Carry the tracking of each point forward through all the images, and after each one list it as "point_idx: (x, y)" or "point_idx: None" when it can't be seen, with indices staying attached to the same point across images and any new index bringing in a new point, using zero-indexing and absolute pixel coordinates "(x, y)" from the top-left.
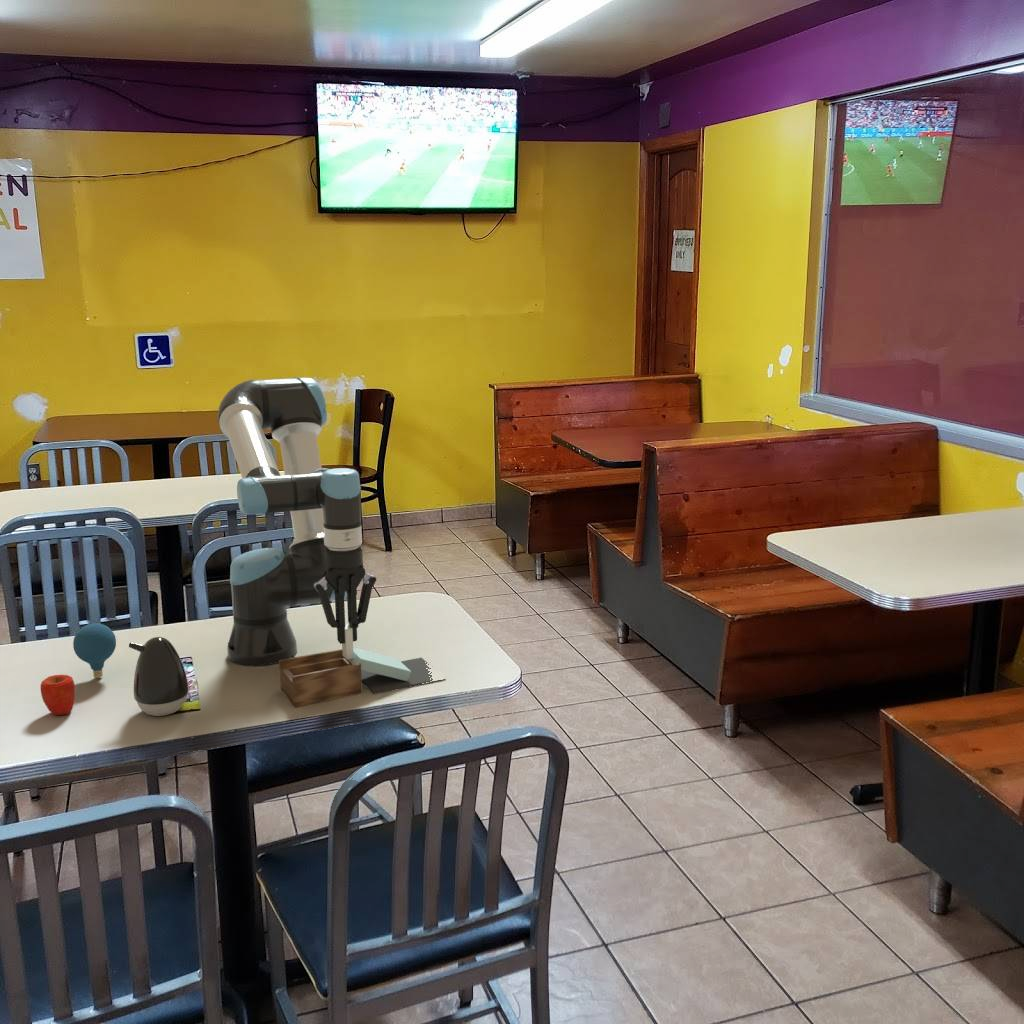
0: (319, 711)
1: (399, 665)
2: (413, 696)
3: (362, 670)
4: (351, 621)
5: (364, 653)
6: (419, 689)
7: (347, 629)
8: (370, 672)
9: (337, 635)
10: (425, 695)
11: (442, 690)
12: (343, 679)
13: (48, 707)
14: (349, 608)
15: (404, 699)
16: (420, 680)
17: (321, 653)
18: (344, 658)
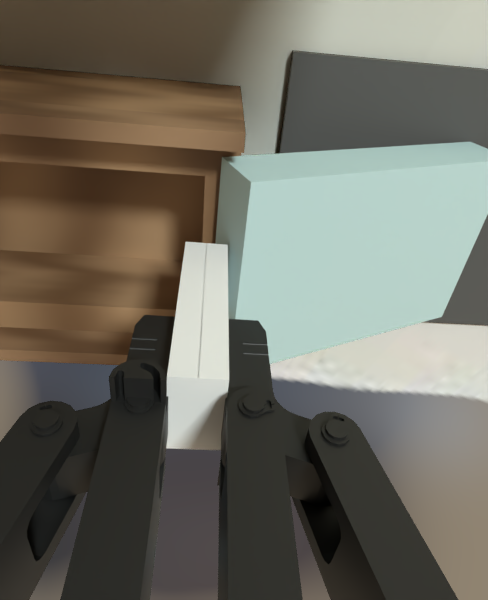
0: None
1: (434, 279)
2: (355, 372)
3: (337, 81)
4: (219, 492)
5: (313, 252)
6: (405, 342)
7: (182, 445)
8: (354, 131)
9: (130, 350)
10: (388, 381)
11: (452, 377)
12: None
13: None
14: (222, 584)
15: (320, 376)
16: (452, 305)
17: (71, 136)
18: (215, 178)
